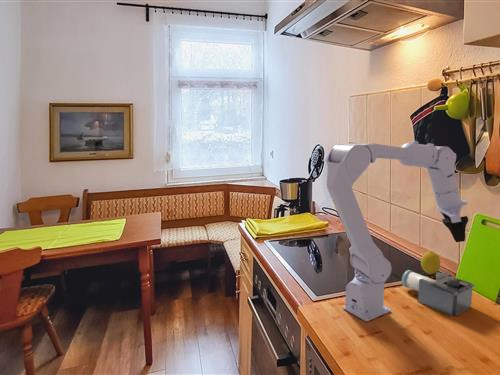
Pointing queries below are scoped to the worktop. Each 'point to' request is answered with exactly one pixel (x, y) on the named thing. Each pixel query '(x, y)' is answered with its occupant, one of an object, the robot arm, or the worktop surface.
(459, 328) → the worktop surface
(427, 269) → the lemon
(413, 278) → the cartridge
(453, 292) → the housing
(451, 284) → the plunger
